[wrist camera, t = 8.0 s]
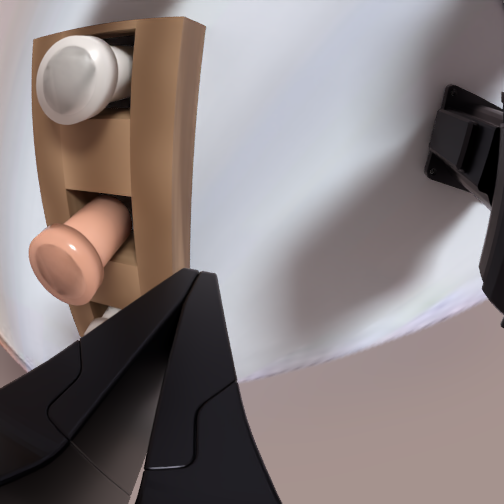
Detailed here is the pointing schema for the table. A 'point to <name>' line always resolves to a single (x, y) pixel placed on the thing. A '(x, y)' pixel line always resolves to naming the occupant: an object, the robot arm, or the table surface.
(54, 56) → the grey plug
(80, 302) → the terracotta plug middle
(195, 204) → the table surface
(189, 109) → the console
